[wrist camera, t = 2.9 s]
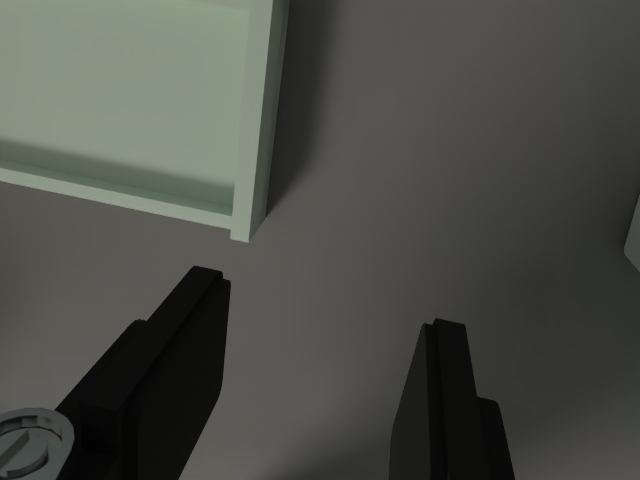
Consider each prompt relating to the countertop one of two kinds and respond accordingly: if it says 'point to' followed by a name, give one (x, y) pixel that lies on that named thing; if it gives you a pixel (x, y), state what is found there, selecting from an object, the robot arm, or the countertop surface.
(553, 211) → the countertop surface
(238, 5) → the tray
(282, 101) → the countertop surface
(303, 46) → the countertop surface
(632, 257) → the cereal box
